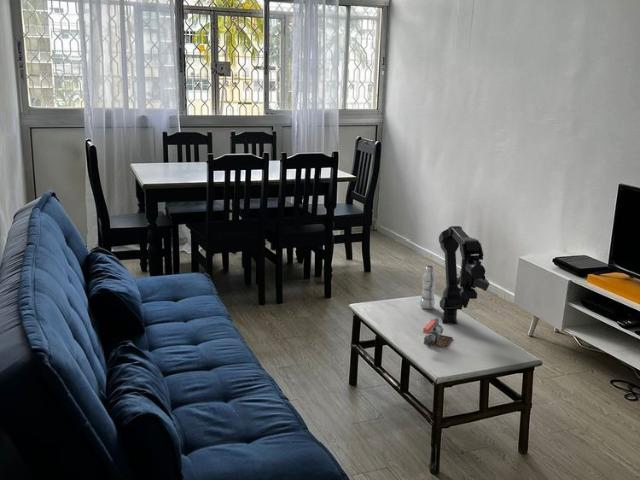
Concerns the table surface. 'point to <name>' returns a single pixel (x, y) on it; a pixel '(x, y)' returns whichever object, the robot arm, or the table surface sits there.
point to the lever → (431, 325)
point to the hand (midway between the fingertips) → (464, 307)
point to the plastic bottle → (428, 288)
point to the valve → (437, 338)
